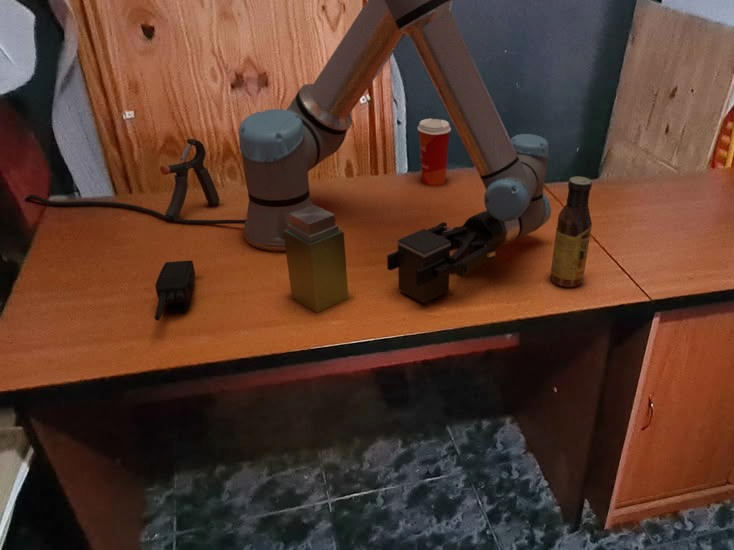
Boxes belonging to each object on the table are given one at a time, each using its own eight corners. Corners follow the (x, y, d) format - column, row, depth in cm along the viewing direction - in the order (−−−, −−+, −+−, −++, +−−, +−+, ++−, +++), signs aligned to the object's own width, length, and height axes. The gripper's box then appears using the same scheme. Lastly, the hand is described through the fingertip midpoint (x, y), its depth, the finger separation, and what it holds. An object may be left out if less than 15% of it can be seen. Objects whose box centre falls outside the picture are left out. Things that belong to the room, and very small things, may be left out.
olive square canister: (291, 297, 121) (280, 213, 112) (323, 283, 126) (315, 201, 116) (316, 313, 118) (307, 227, 108) (348, 298, 122) (342, 214, 112)
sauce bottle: (581, 291, 128) (597, 190, 116) (547, 286, 129) (560, 185, 117) (583, 274, 133) (599, 176, 122) (551, 269, 134) (564, 171, 122)
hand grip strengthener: (164, 221, 142) (147, 149, 133) (214, 202, 150) (201, 133, 141) (171, 224, 141) (154, 152, 132) (221, 205, 149) (208, 136, 141)
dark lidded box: (398, 289, 124) (397, 239, 118) (423, 277, 128) (424, 228, 122) (423, 303, 121) (424, 253, 115) (449, 290, 125) (451, 240, 119)
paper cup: (421, 173, 170) (421, 116, 161) (451, 176, 169) (453, 119, 161) (414, 185, 164) (414, 126, 155) (446, 189, 163) (447, 130, 155)
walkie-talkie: (206, 265, 124) (196, 316, 108) (185, 289, 126) (172, 343, 109) (175, 244, 121) (160, 293, 105) (154, 269, 122) (136, 321, 106)
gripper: (528, 265, 129) (443, 311, 115) (452, 230, 139) (366, 269, 125) (532, 229, 125) (444, 272, 110) (454, 195, 134) (364, 231, 120)
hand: (403, 270), depth 117 cm, fingers closed on dark lidded box, 6 cm apart
